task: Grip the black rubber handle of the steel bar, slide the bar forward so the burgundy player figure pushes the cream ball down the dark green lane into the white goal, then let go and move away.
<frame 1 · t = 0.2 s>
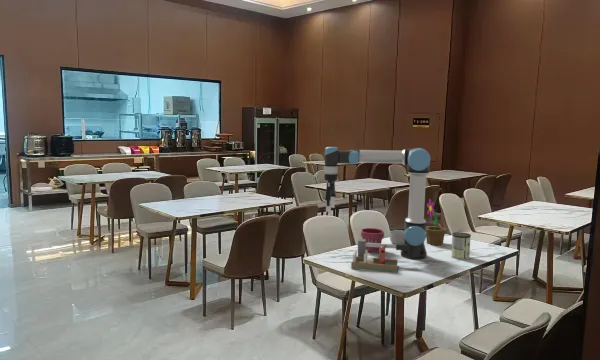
hand: (330, 209, 263), 28 cm above the table, tool pointing down, fingers open, 13 cm apart
flowerpot: (434, 243, 296), on the table
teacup: (397, 243, 297), on the table
coffee can: (460, 257, 265), on the table
plant pot: (371, 251, 277), on the table
slider: (381, 253, 247), point 7 cm above the table, slide at 0.0 cm
ball: (370, 260, 245), point 3 cm above the table, touching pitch
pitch: (376, 267, 244), on the table
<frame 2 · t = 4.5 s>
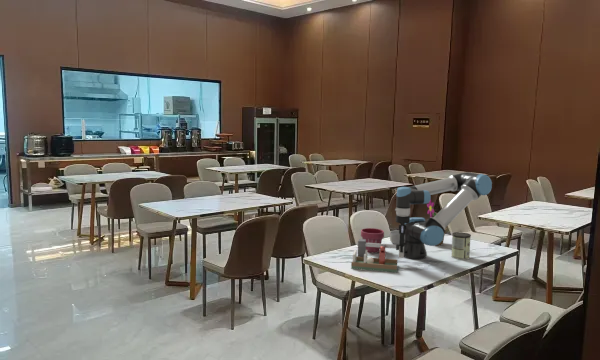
hand: (401, 256, 249), 5 cm above the table, tool pointing down, fingers closed on slider, 3 cm apart
slider: (381, 253, 247), point 7 cm above the table, slide at 0.0 cm, touching gripper
everything else where it was.
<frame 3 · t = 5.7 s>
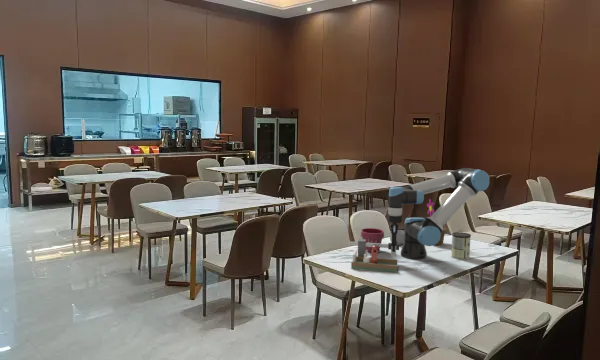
hand: (393, 255, 250), 5 cm above the table, tool pointing down, fingers closed on slider, 3 cm apart
slider: (373, 252, 248), point 7 cm above the table, slide at 4.3 cm, touching gripper
ball: (366, 260, 245), point 3 cm above the table, tilted 48°, touching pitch
everything else where it was.
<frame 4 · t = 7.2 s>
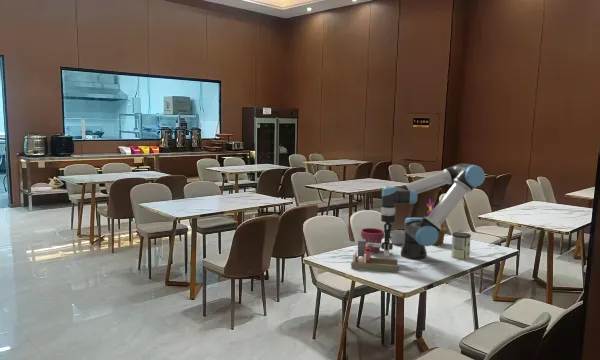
hand: (386, 252, 251), 6 cm above the table, tool pointing down, fingers open, 11 cm apart
slider: (366, 252, 249), point 7 cm above the table, slide at 8.0 cm
ball: (360, 259, 246), point 3 cm above the table, tilted 142°, touching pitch
everything else where it was.
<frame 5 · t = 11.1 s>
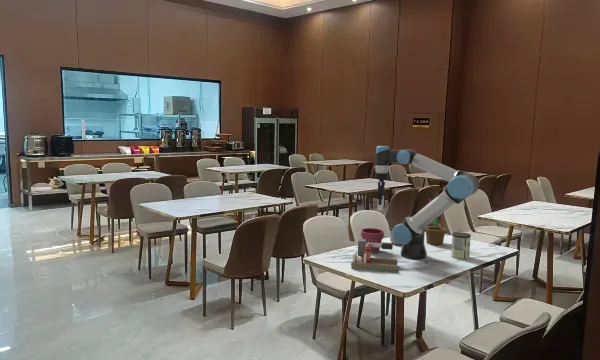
hand: (380, 208, 263), 29 cm above the table, tool pointing down, fingers open, 13 cm apart
ball: (359, 259, 246), point 3 cm above the table, tilted 169°, touching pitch
everything else where it was.
at the end: ball inside the target area on the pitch (0.2 cm from its centre), point 3.5 cm above the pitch's base; slider slide at 8.0 cm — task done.
